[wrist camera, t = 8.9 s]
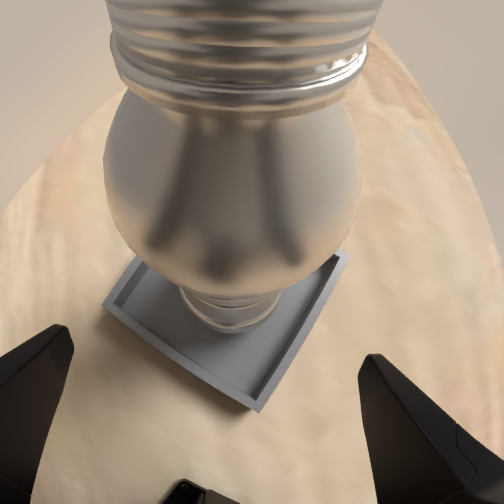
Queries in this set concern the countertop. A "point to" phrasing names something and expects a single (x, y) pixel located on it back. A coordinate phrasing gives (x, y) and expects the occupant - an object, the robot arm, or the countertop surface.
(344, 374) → the countertop surface
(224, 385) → the gray tray
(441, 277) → the countertop surface
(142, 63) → the plastic bottle
